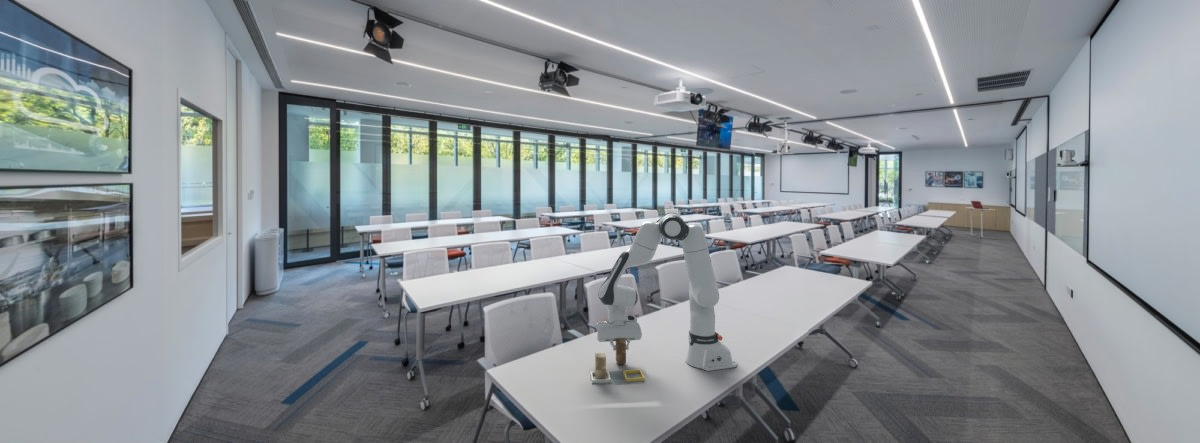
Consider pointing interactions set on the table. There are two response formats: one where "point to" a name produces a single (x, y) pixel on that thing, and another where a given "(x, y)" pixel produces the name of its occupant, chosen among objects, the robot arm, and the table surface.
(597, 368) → the oak pillar
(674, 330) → the table surface
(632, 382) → the base plate
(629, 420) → the table surface
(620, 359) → the walnut pillar
